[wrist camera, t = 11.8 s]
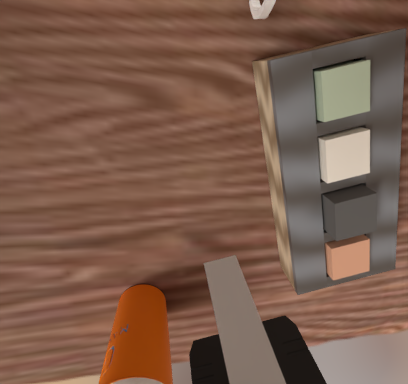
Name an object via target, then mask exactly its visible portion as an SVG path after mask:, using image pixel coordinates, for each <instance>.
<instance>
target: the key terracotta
mask: <svg viewBox="0 0 408 384" xmlns="http://www.w3.org/2000/svg"><path fill="white" fill-rule="evenodd" d="M324 246H325V261H326V272H327V274H328V275H329V276H330V277H331V279H332V280H337V279H341V278H345V277H348V276H352V275H356V274H360V273H363V272H367V271H369V266H370V239H369V238H368V237H366V236H365V235H364V234H363V235H359V236H355V237H351V238H348V239H344V240H340V241H335V240H333V241H329V242H326V243H324Z"/></svg>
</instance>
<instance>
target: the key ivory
mask: <svg viewBox="0 0 408 384" xmlns="http://www.w3.org/2000/svg"><path fill="white" fill-rule="evenodd" d="M317 140H318V155H319V170H320V179H322V180H323V181H325V182H326V183H332V182H336V181H339V180H343V179H347V178H351V177H355V176H359V175H363V174H367V173H370V130H369V129H366V128H363V127H359V126H358V127H354V128H350V129H345V130H341V131H337V132H333V133H329V134H325V135H321V136H317Z"/></svg>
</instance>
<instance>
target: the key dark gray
mask: <svg viewBox="0 0 408 384" xmlns="http://www.w3.org/2000/svg"><path fill="white" fill-rule="evenodd" d="M321 200H322V215H323V229H324V230H325V231H326V232H327V233H328V234H329V235H330V236H331V237H332V238H333V239H334V240H335V241H340V240H344V239H348V238H351V237H355V236H359V235H363V234H367V233H370V232H374V231H377V193H376V192H375V191H373V190H371V189H369V188H368V187H366V186H364V185H363V184H357V185H353V186H349V187H345V188H342V189H338V190H334V191H330V192H326V193H322V194H321Z"/></svg>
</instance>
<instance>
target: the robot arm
mask: <svg viewBox="0 0 408 384" xmlns="http://www.w3.org/2000/svg"><path fill="white" fill-rule="evenodd" d="M204 267H205V272H206V276H207V281H208V286H209V290H210V295H211V300H212V304H213V309H214V313H215V318H216V323H217V327H218V332H219V334H217V335H213V336H210V337H206V338H202V339H199V340H195V341H193V344H192V348H191V351H190V354H189V356H190V366H191V375H192V384H326V382H325V380H324V378H323V376H322V374H321V372H320V370H319V368H318V366H317V364H316V362H315V361H314V359H313V357H312V355H311V353H310V351H309V350H308V347H307V345H306V343H305V341H304V340H303V338H302V336H301V334H300V332H299V330H298V328H297V326H296V324H294V323H293V322H292V321H291V320H290V319H289V318H287V317H286V316H281V317H277V318H274V319H270V320H266V321H261V319H260V316H259V313H258V311H257V308H256V306H255V303H254V301H253V298H252V296H251V293H250V291H249V288H248V286H247V283H246V280H245V278H244V275H243V273H242V270H241V268H240V265H239V263H238V260H237V258H236V255H234V256H230V257H226V258H222V259H218V260H214V261H210V262H207V263H204Z"/></svg>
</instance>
